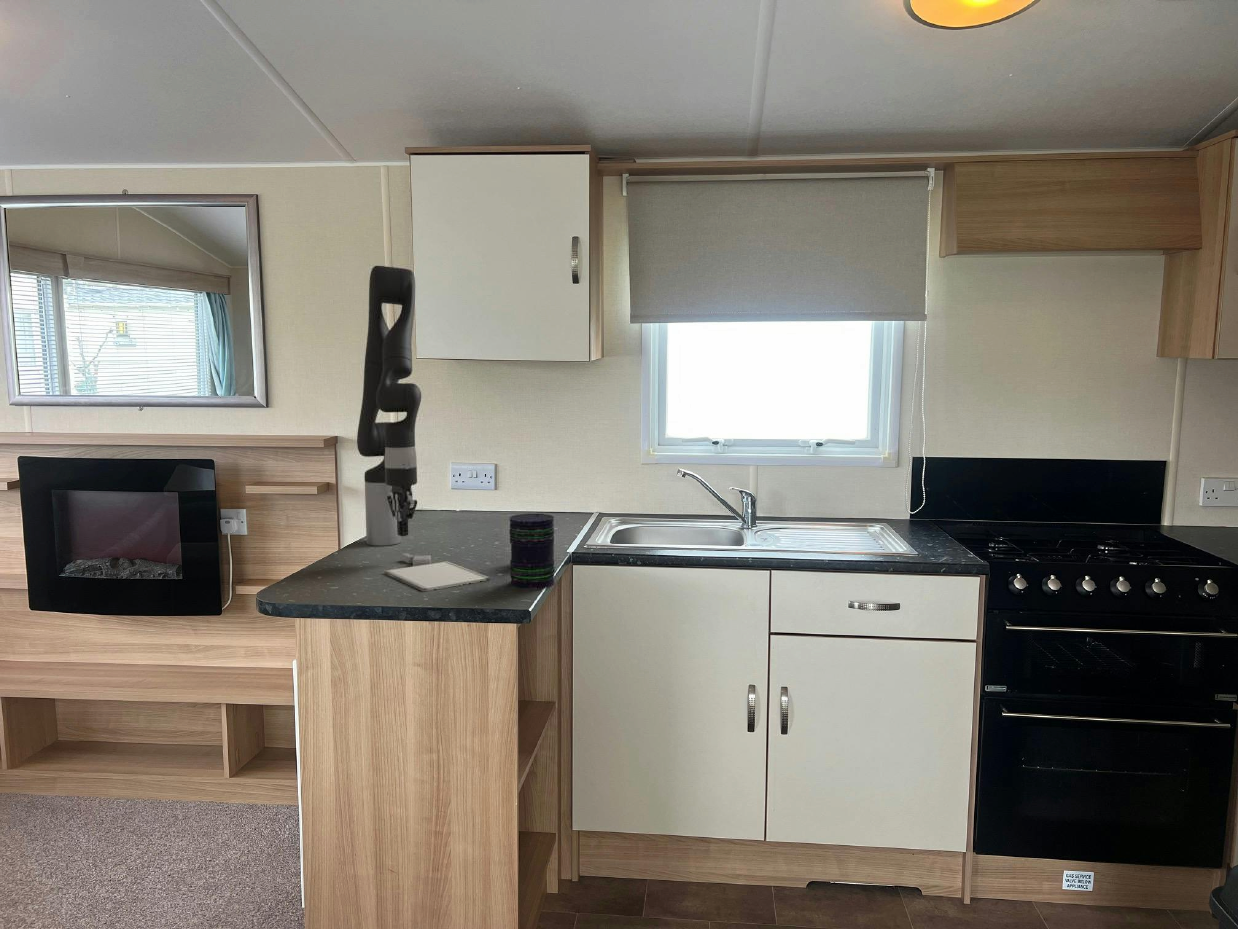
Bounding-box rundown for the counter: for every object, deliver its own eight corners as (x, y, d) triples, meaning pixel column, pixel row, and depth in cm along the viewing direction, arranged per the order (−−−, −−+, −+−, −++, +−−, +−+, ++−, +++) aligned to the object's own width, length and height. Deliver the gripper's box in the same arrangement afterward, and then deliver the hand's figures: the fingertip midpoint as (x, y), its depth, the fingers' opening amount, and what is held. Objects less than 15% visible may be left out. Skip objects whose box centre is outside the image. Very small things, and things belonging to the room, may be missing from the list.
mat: (384, 573, 194) (384, 570, 194) (447, 564, 204) (447, 561, 204) (423, 591, 178) (423, 588, 178) (489, 580, 188) (489, 577, 188)
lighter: (430, 566, 202) (431, 559, 210) (430, 559, 202) (431, 552, 210) (400, 567, 201) (402, 560, 208) (400, 560, 201) (401, 553, 208)
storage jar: (542, 591, 178) (541, 522, 177) (501, 587, 182) (500, 519, 180) (562, 580, 188) (561, 515, 186) (523, 577, 191) (522, 512, 190)
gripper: (375, 464, 206) (377, 533, 208) (397, 468, 196) (399, 541, 197) (404, 462, 211) (406, 530, 212) (427, 466, 200) (428, 537, 202)
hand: (402, 535), depth 205 cm, fingers closed
